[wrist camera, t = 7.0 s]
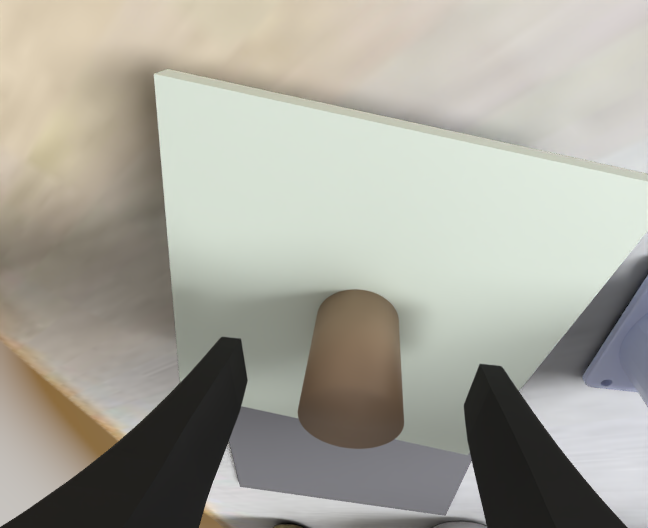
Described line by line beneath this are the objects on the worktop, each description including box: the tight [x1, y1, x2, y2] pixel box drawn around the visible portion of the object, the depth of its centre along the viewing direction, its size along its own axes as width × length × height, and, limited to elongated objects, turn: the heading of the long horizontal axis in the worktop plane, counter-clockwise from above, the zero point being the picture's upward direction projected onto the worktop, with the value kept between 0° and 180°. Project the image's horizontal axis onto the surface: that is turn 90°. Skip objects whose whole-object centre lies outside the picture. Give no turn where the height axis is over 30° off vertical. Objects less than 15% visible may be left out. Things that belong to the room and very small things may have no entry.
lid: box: [154, 69, 648, 455], centre depth 13 cm, size 14×14×5 cm
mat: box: [229, 406, 472, 515], centre depth 26 cm, size 17×17×1 cm
